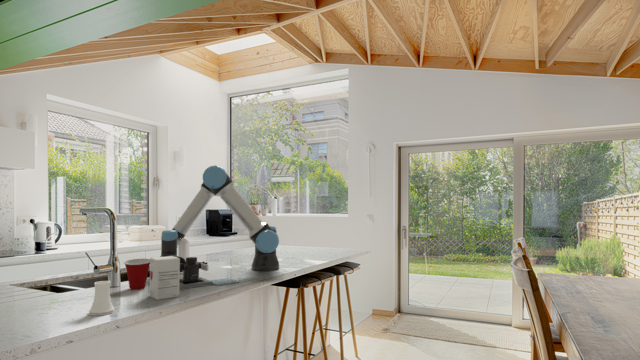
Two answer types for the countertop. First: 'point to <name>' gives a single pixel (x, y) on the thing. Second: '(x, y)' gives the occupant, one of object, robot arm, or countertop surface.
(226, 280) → the drip mat
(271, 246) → the robot arm
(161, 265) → the supplement box
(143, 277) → the plastic cup
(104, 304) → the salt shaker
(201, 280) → the grey square tray
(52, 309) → the countertop surface
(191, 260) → the supplement bottle
